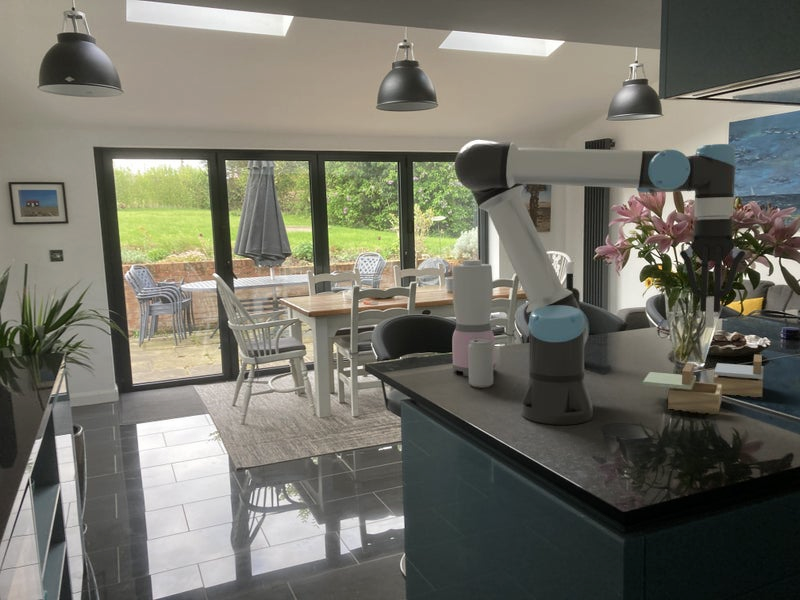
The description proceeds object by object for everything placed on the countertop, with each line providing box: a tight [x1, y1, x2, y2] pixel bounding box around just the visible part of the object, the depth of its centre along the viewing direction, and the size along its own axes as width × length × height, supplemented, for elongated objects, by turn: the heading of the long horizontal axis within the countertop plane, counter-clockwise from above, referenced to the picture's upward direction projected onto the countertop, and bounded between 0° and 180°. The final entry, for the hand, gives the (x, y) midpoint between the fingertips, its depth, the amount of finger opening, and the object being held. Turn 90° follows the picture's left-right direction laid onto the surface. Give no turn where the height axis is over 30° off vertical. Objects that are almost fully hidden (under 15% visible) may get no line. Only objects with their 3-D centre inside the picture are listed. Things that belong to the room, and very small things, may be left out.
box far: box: [713, 375, 764, 398], centre depth 151 cm, size 10×10×4 cm
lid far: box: [713, 353, 764, 380], centre depth 151 cm, size 10×10×4 cm
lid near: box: [642, 362, 697, 389], centre depth 144 cm, size 10×10×4 cm
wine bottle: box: [563, 261, 581, 309], centre depth 190 cm, size 6×6×30 cm
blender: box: [451, 259, 496, 377], centre depth 181 cm, size 16×12×32 cm
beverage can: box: [468, 339, 494, 389], centre depth 165 cm, size 6×6×12 cm
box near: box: [667, 381, 723, 415], centre depth 141 cm, size 10×10×4 cm
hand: (709, 326), depth 138 cm, fingers closed
